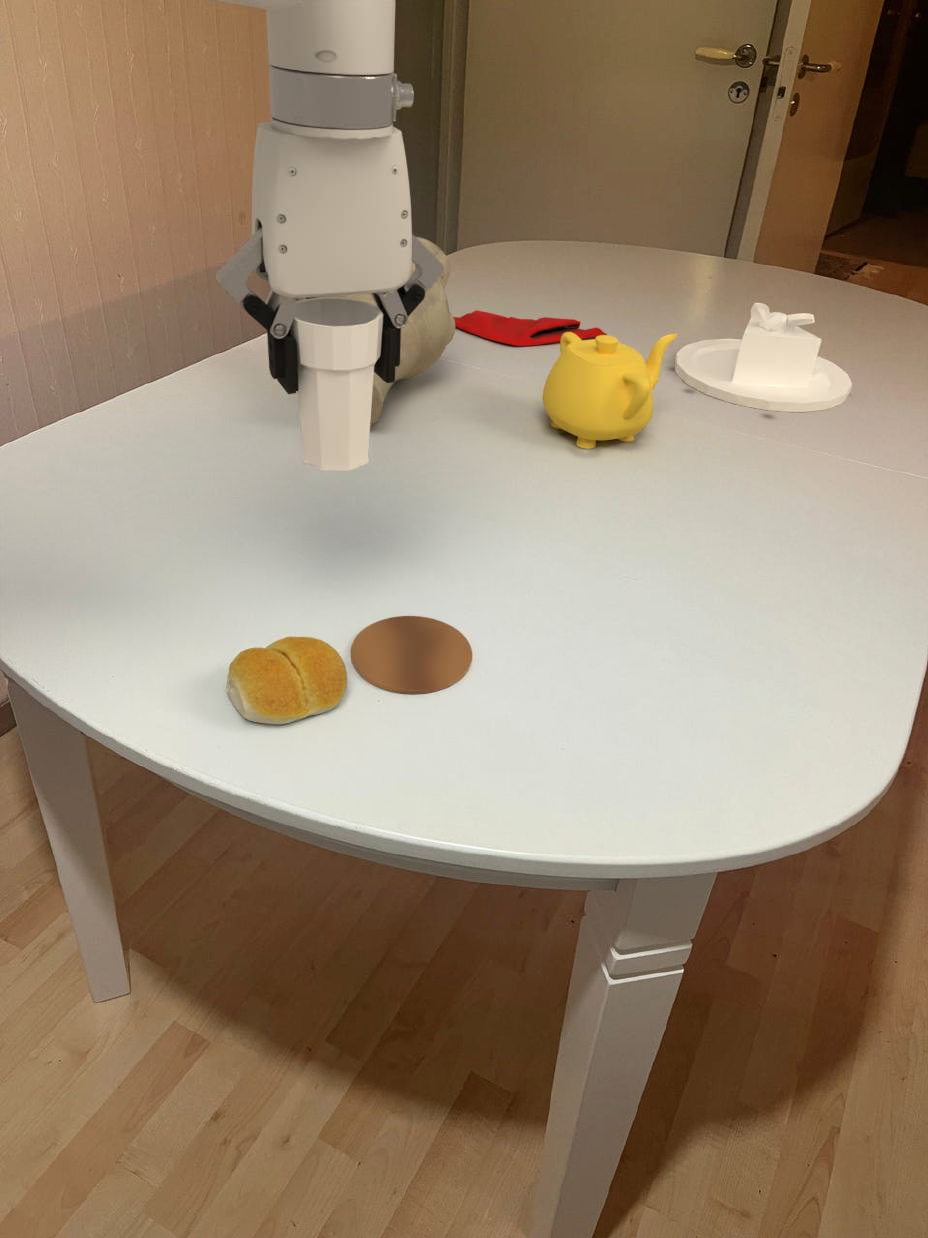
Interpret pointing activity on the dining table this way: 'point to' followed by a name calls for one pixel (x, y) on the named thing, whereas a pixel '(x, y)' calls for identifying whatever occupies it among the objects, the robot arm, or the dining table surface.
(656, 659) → the dining table surface
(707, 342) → the dish
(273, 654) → the bread roll
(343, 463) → the cup
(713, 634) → the dining table surface
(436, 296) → the vase
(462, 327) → the cloth
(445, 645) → the coaster
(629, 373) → the teapot
